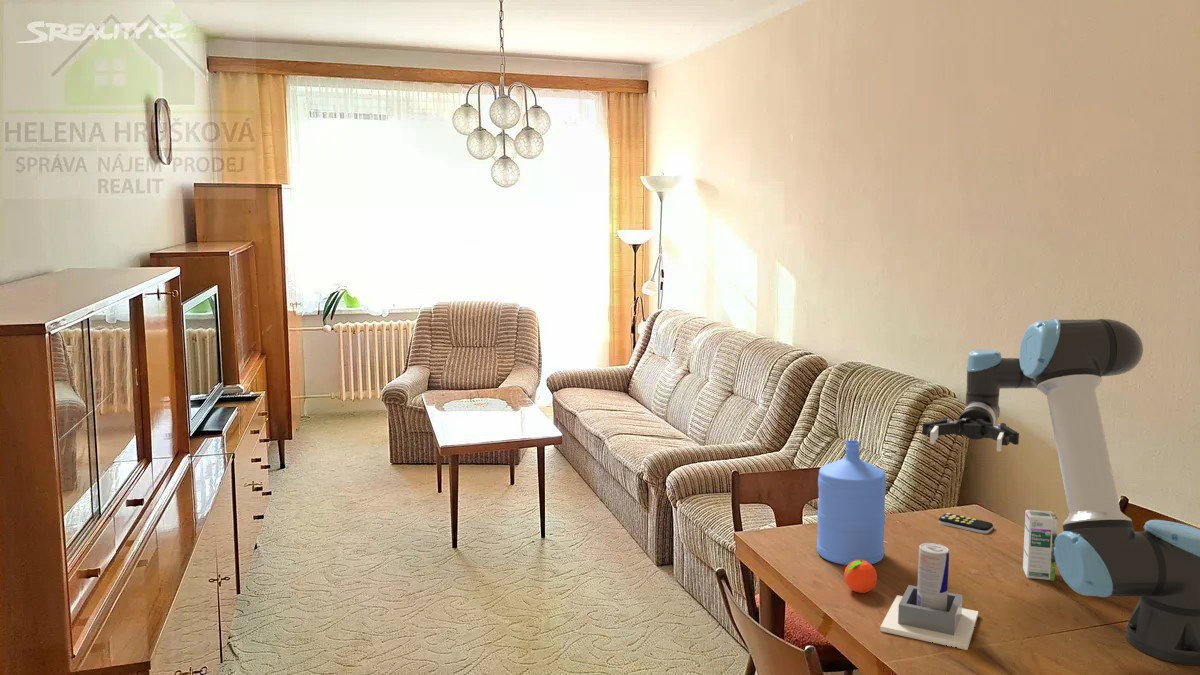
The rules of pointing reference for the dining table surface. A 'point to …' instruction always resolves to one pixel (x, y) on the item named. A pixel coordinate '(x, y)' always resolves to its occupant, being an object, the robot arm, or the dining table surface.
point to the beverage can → (933, 576)
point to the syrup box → (1040, 544)
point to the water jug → (851, 509)
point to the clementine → (860, 576)
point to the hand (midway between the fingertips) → (964, 441)
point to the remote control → (966, 523)
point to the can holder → (931, 620)
